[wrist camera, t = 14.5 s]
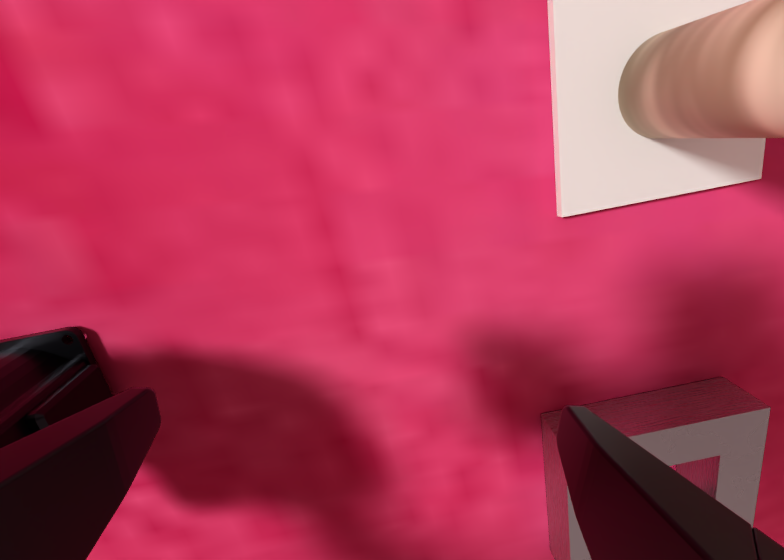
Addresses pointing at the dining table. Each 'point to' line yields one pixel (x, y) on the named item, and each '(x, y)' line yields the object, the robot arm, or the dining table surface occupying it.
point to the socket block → (671, 448)
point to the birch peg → (710, 77)
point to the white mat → (603, 117)
